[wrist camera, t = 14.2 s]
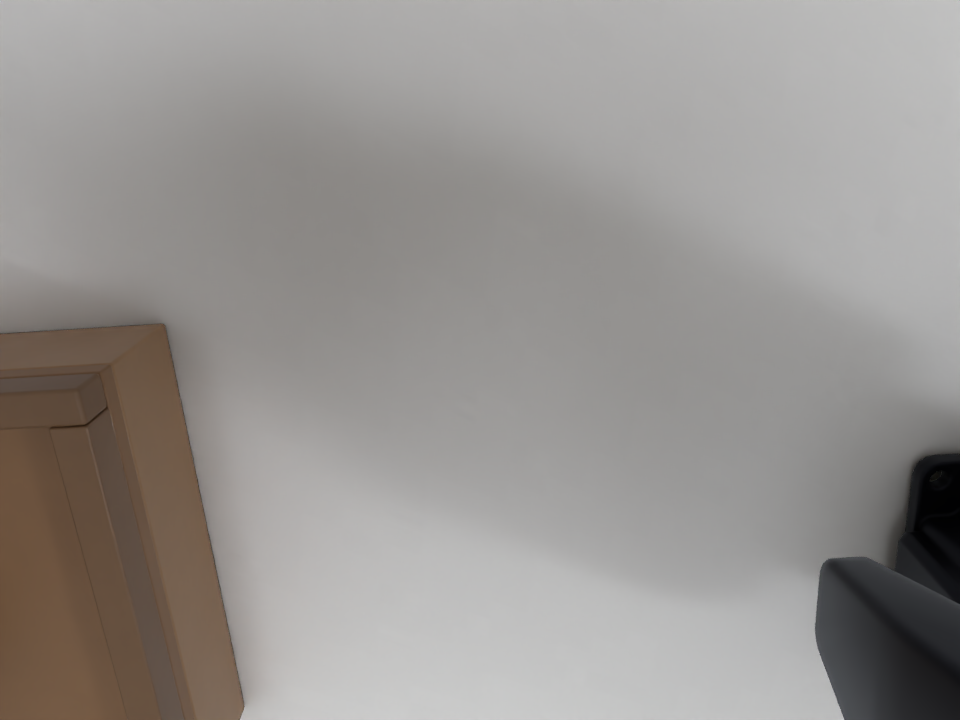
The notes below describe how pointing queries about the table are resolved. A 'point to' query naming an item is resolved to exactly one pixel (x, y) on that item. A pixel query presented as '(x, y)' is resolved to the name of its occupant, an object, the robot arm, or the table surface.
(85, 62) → the table surface
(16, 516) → the wooden tray
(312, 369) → the table surface
